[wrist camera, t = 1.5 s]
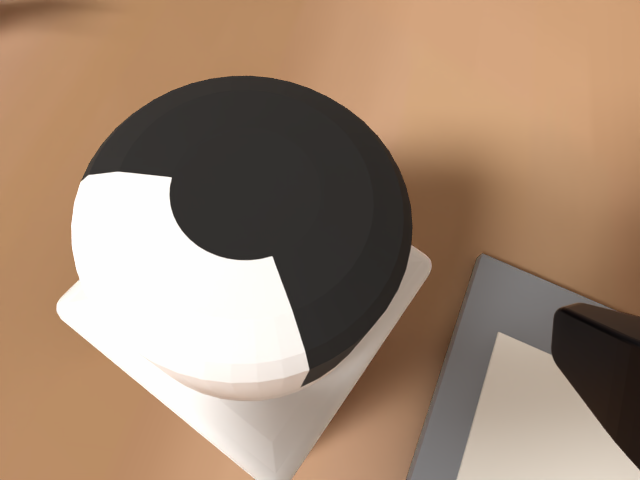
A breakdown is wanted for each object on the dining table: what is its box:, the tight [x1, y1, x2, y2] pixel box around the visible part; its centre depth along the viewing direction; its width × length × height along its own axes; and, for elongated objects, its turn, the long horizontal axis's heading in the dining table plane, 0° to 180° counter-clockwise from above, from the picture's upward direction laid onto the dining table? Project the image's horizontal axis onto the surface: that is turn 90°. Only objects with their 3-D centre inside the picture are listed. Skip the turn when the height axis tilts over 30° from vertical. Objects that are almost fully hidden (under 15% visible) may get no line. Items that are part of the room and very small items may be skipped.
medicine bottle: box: [57, 76, 432, 480], centre depth 14 cm, size 7×7×12 cm
